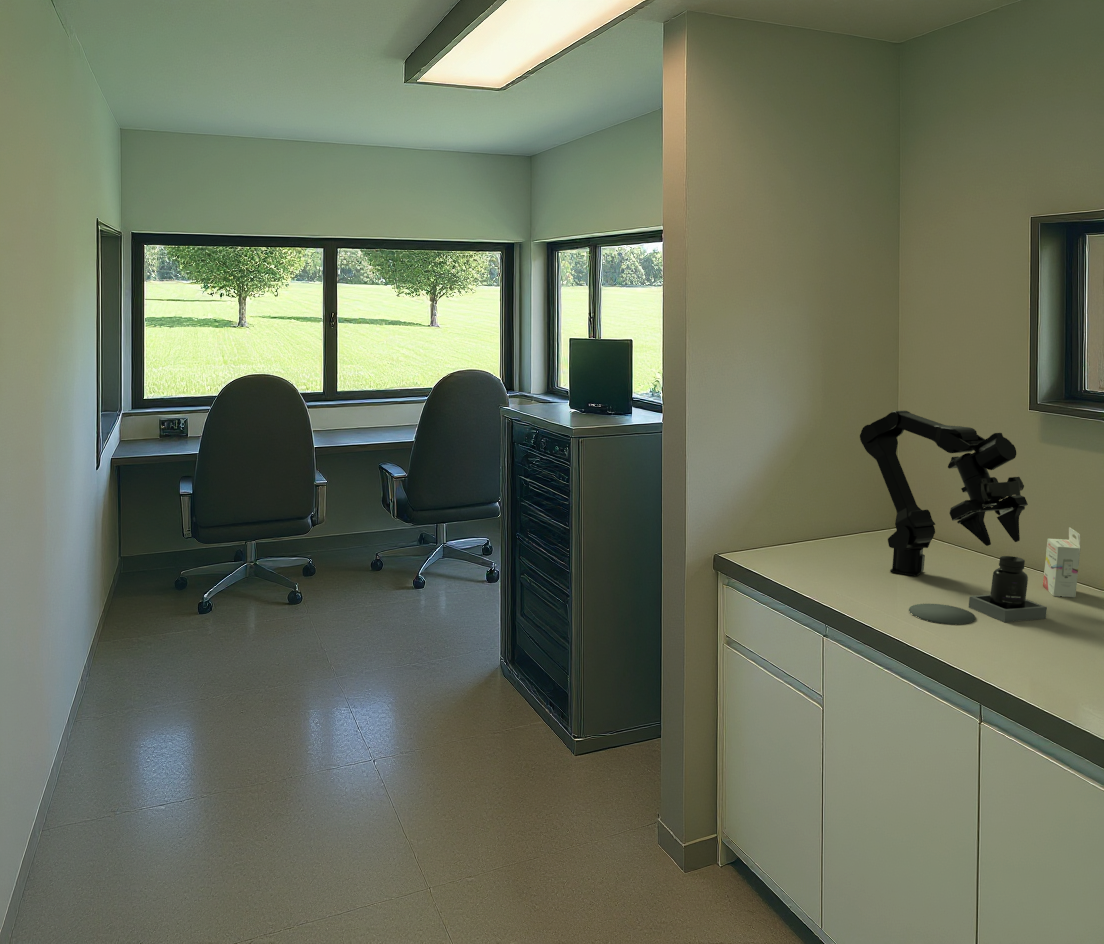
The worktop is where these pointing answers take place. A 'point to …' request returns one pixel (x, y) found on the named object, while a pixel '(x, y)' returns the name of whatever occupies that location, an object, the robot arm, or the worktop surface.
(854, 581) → the worktop surface
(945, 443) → the robot arm
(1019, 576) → the supplement bottle
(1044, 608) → the square grey tray
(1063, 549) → the ink cartridge box
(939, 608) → the rubber mat
